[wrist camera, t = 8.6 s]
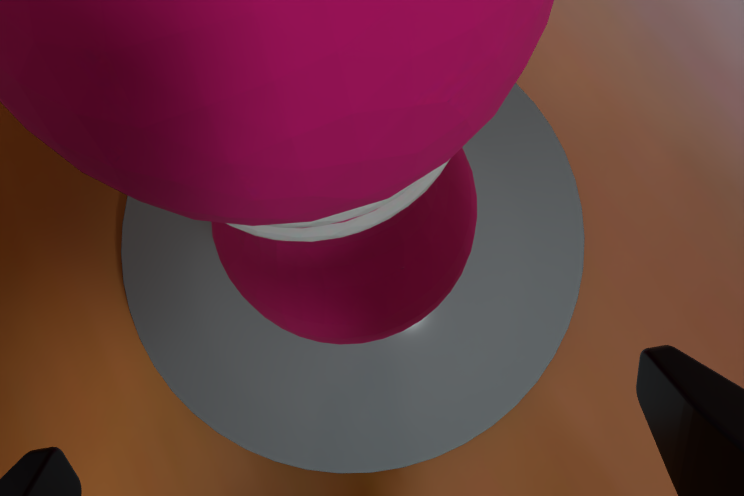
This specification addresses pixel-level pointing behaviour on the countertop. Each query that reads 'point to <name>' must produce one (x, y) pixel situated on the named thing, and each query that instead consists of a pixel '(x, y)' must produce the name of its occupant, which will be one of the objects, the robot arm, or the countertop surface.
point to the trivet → (381, 357)
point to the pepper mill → (284, 134)
